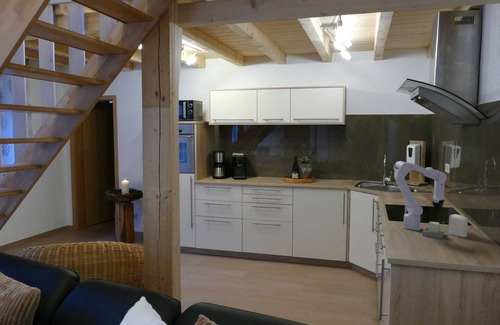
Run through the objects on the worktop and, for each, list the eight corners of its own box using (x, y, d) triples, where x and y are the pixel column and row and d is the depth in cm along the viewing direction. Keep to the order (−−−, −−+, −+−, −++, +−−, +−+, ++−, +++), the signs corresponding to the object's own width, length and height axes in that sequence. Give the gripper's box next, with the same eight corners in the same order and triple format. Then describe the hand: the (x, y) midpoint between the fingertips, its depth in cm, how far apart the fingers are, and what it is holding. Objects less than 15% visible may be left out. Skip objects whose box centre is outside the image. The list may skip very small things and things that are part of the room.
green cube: (428, 231, 226) (428, 223, 226) (429, 229, 230) (430, 221, 230) (437, 232, 223) (438, 224, 223) (438, 230, 228) (439, 222, 227)
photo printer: (447, 233, 231) (448, 213, 229) (451, 232, 233) (452, 212, 231) (463, 238, 222) (465, 217, 220) (468, 237, 224) (469, 216, 222)
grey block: (422, 236, 226) (422, 231, 226) (426, 232, 234) (426, 227, 234) (441, 239, 221) (441, 234, 220) (444, 235, 229) (444, 230, 228)
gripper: (444, 193, 232) (443, 215, 233) (447, 189, 243) (446, 210, 245) (431, 192, 236) (430, 213, 237) (435, 188, 248) (434, 209, 249)
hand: (437, 211), depth 241 cm, fingers open, 7 cm apart
